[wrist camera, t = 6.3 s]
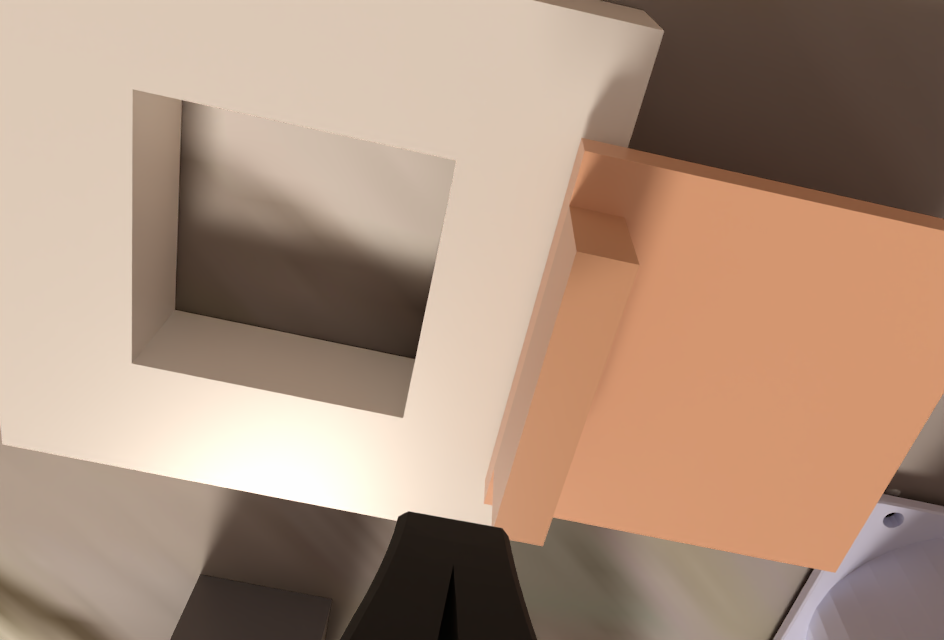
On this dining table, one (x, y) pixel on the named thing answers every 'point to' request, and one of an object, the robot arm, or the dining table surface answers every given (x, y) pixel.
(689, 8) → the dining table surface
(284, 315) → the dining table surface
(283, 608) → the grey block
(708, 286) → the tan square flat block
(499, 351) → the socket
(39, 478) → the dining table surface
